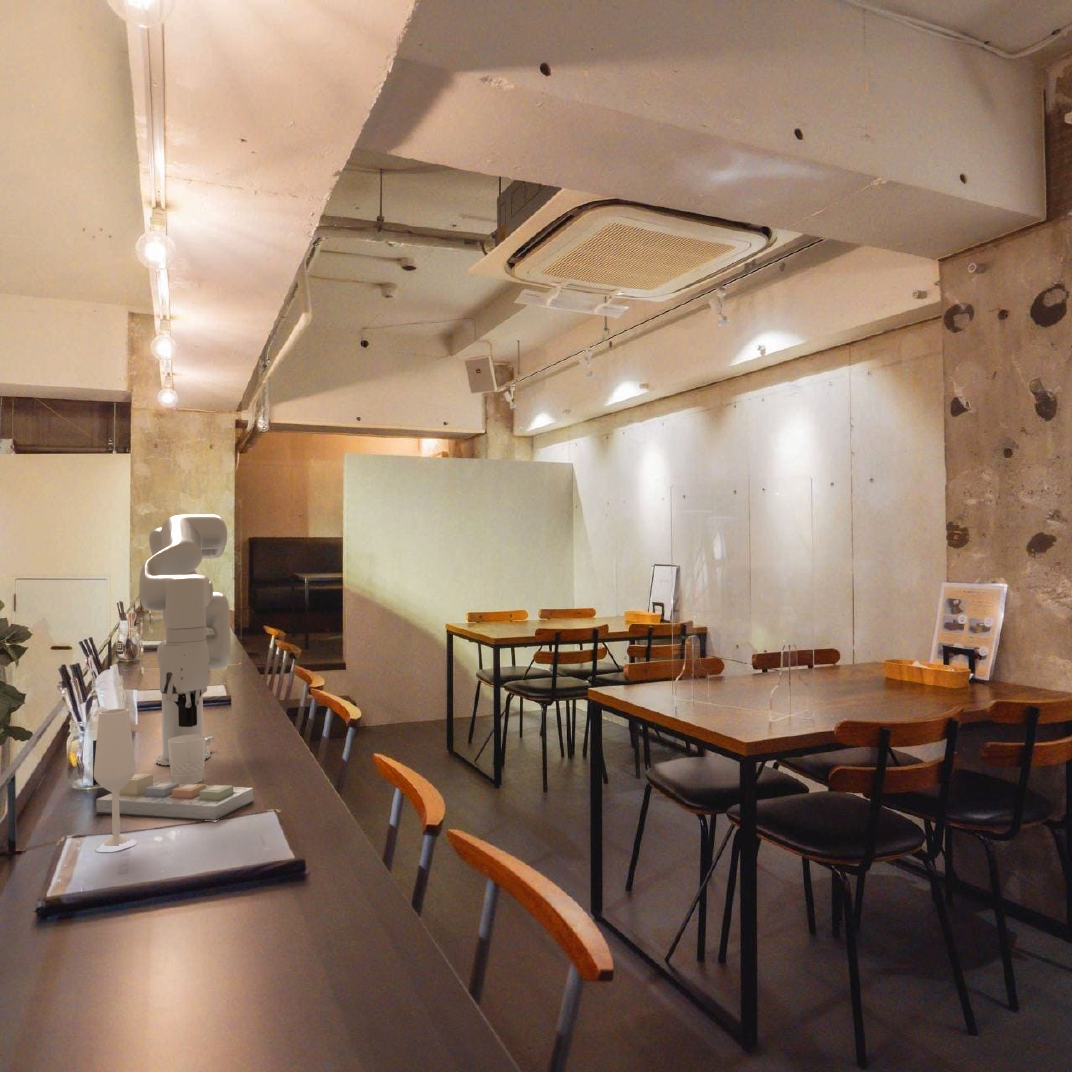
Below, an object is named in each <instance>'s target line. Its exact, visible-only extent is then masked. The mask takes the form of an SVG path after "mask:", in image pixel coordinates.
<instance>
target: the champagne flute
mask: <svg viewBox="0 0 1072 1072" xmlns="http://www.w3.org/2000/svg"><path fill="white" fill-rule="evenodd" d="M130 717H131V716H130V709H129V708H112V709H107V710H106V709H105V710H102V711H100V712H98V720H97V733H96V744H95V754H94V755H95V757H94V767H93V779H94V780H95V781H96V783H97V784H98V785H99V786H101V787H102V788H103V789H105V790H106V791H109V792H110V793H112V815H111V823H112V825H111V829H112V830H111V831H112V834H111V836H110V837H109V838H107V839H105V840H104V841H103V842H104V845H105V846H119V844H123V843H126V842H127V841H130V840H131V839H132V838H131V837H129V836H125V835H123V834H121V827H120V826H121V823H120V821H121V820H120V817H121V816H120V814H119V791H120V790H121V789H122V788H124V787H125V786H126V785H127V784H128V782H129V781H130V780H131V779H132V778H133V776H134V774H135V773H136V772H137V768H136V767H137V765H136V758H135V749H134V743H133V742H134V741H133V735H132V726H131V718H130ZM130 838H131V839H130Z"/></svg>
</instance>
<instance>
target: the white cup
mask: <svg viewBox="0 0 1072 1072" xmlns="http://www.w3.org/2000/svg"><path fill="white" fill-rule="evenodd" d="M205 738H206V735H205V734H203V735H200V734H191V735H182V736H177V737H173V738H171V739H169V740H168V750H169V763H170V766H169V771H170V783H179V784H187V783H189V784H200V783H202V782H203V781H204V778H205V776H204V774H205V765H206V764H205V761H206V759H205V748H206V747H205Z"/></svg>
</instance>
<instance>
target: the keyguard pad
mask: <svg viewBox="0 0 1072 1072" xmlns="http://www.w3.org/2000/svg"><path fill="white" fill-rule="evenodd" d="M157 783H158V782H153V785H155V784H157ZM182 785H185V784H179V787H180V786H182ZM210 786H211V785H207V784H206V788H208V787H210ZM95 803H96V804H95V805H96V815H103V816H112V792H110V793H109V794H105V795H103V796H101V797H98V798H96V801H95ZM253 803H254V788H253V787H241V786H233V795H231V796H229V797H227V798H225V799H223V800H220V801H213V800H200V796H198V797H195V798H193V799H179V798H172V794H171V795H169V796H167V797H164V798H162V797H145V793H143V794H141V795H139V796H129V795H119V814H120V817H130V818H133V817H134V818H135V817H136V818H147V819H148V818H149V819H159V820H160V819H161V820H174V821H175V820H176V821H190V822H191V821H193V822H205V820H218V819H221V818H223V819H225V818H226V817H229V816H231V815H232V814H234V813H236V812H238V811H240V810H242V809H244V808H246V807H247V806H249V805H252V804H253ZM224 817H225V818H224ZM221 820H222V819H221Z"/></svg>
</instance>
